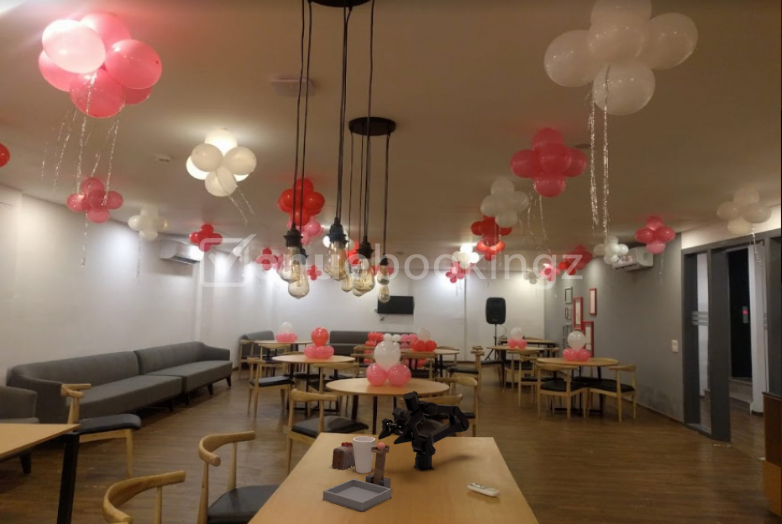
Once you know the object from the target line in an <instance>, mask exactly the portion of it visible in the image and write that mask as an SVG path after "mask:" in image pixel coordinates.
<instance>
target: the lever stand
mask: <svg viewBox="0 0 782 524" xmlns="http://www.w3.org/2000/svg"><path fill="white" fill-rule="evenodd" d="M373 479H374V473H370V474H368V475H366V476H365V482H368V483H371V484H373ZM391 480H392V479H391V477H387V476H384V478H382V479H380V480H379V486H382V487H386V488H390V489H391Z"/></svg>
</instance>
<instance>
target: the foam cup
mask: <svg viewBox="0 0 782 524" xmlns="http://www.w3.org/2000/svg"><path fill="white" fill-rule="evenodd" d="M352 443H353V448H354V458H355V464H354V467H355V472H356V473H358V474H368V472H369V473H370V472H371V471H372V465H373V461H374V454H375V452H371V447H376V438H375V437H372V436H365V435H363V436H362V435H360V436H355V437H353V438H352Z"/></svg>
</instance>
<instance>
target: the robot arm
mask: <svg viewBox="0 0 782 524" xmlns="http://www.w3.org/2000/svg"><path fill="white" fill-rule="evenodd" d="M402 399H403V402H404V406H405V408H406V409H404V408H402V407H401V408H400V407H394V409H393V410H392V412H391V415H392V416H393V417H394V418H395V420H394V421H395V423H394V422H393V419H390V418H383V419H381V424H382V430H381V432H380V433H379V435H378V440H379V441H380V440H383V439H386V438H388V437H391V436H392V435H393V434H394V433H395V431H397V432H399V434H400V435H399V436H398V437H397V438H395V440H394V441H393V442H392V444H394V446H395V445H399V444H400V445H401V444H405V443H411V447H412V448H411V449H412V451H413V453H415V457H414V465H413V467H414V468H416V469H418V470H419V471H422V472H423V471H429V470H434V469H435V467H433V456H434V455H436V450H437V449H436V447H434V444H436V443H438V442H439V441H441V440H444V439H446V438H447V437H449V436H451V435H453V434H454V433H463V432H467V431H468V430H469V428H470V421H469V419H468V417H467V416H466V415H465V413H464V412H463V411H462V409H461V408H460V406H458V405H455V404H442V403H441V404H439V403H435V402H432V401H427V400H423V399H419V394H418V392H417V391H416V390H412V391H411V392H407V393H404V394H403V395H402ZM437 414H443V415H444V414H446V415H447V414H448V417H447V420H448V423H446V424H445V425H442V426H441V427H438V428H436V429H434V430H433V431H430V432H426V431H420V432H419V430H418V428H417V425H418V424H423V425H425V424H426V417H425V415H426V416H429V417H431V416H436V415H437Z"/></svg>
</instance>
